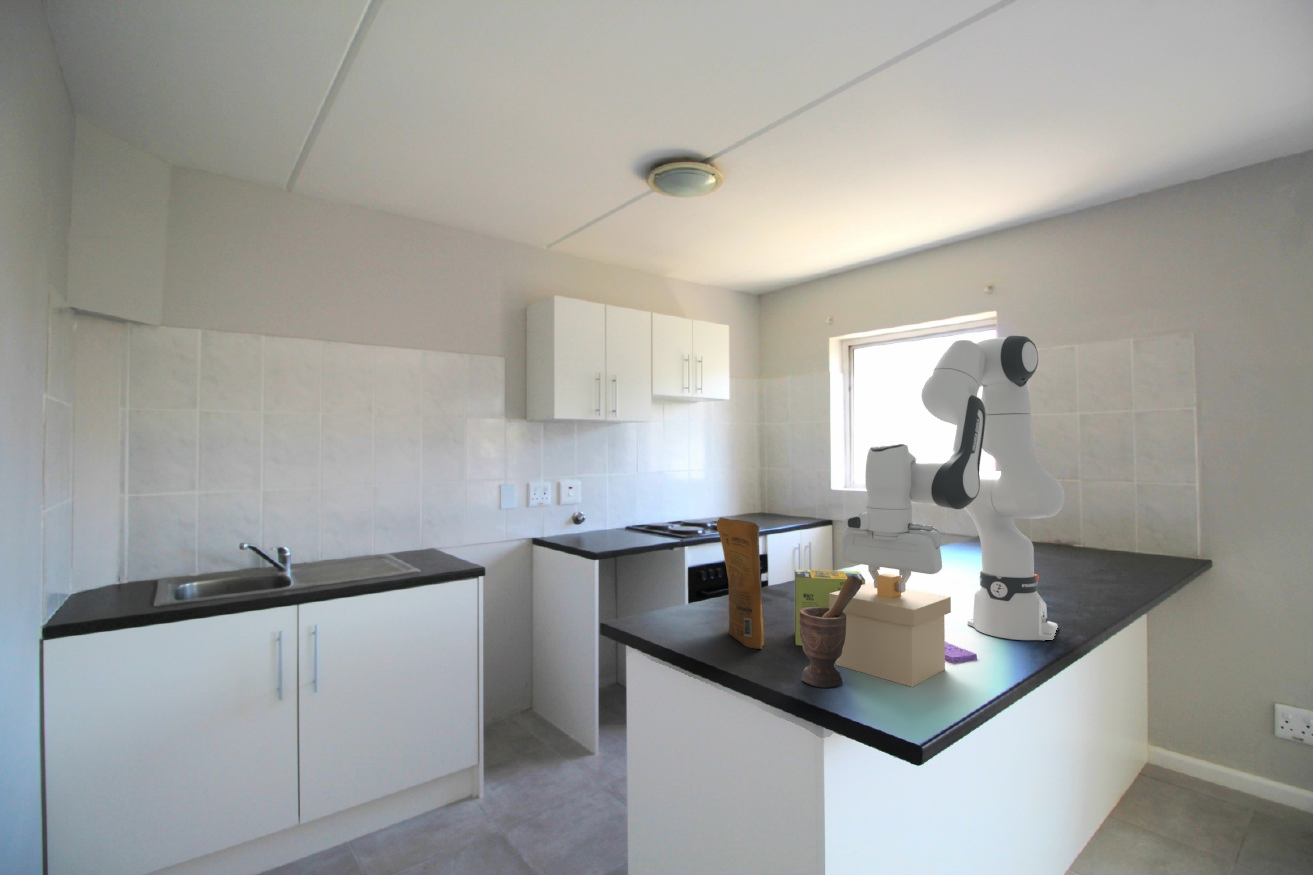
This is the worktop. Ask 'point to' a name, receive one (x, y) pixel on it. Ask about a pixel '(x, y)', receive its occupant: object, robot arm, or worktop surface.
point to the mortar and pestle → (826, 636)
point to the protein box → (817, 590)
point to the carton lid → (895, 603)
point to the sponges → (958, 654)
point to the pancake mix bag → (743, 580)
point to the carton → (894, 649)
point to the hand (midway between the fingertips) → (889, 589)
